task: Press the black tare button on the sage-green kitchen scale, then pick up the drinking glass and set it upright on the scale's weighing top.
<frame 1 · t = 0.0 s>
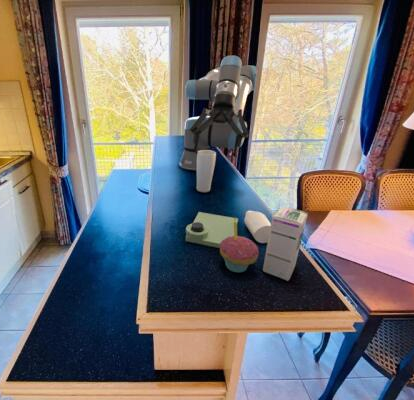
hand: (214, 153, 92), 15 cm above the breakfast bar, tool tilted 35°, fingers open, 13 cm apart
syrup box: (277, 270, 60), on the breakfast bar
tare button: (197, 227, 71), point 3 cm above the breakfast bar, slide at 0.1 cm
scale: (212, 231, 75), on the breakfast bar
cupcake: (236, 266, 62), on the breakfast bar
drinking glass: (203, 190, 102), on the breakfast bar, touching gripper
roll: (255, 231, 75), on the breakfast bar
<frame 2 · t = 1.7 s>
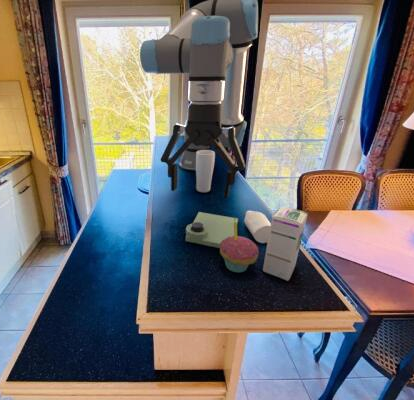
hand: (199, 192, 66), 13 cm above the breakfast bar, tool pointing down, fingers open, 13 cm apart
drinking glass: (203, 190, 102), on the breakfast bar
everything else where it was.
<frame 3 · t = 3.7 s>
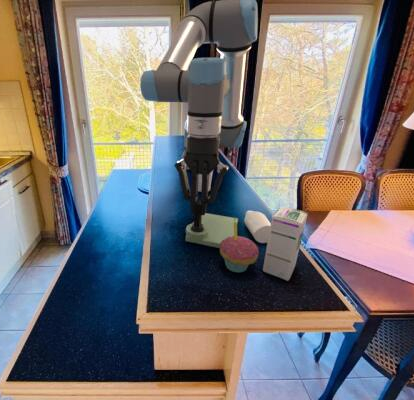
hand: (197, 224, 70), 4 cm above the breakfast bar, tool pointing down, fingers closed
tare button: (197, 227, 71), point 3 cm above the breakfast bar, slide at 0.1 cm, touching gripper
everything else where it was.
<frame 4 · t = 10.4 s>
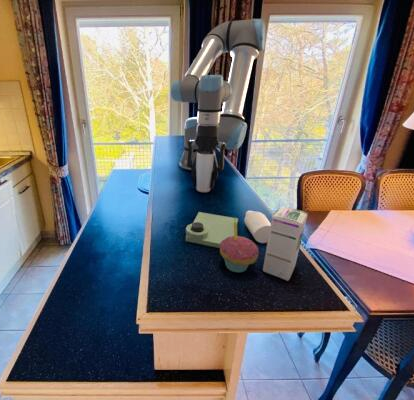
hand: (203, 186, 101), 2 cm above the breakfast bar, tool pointing down, fingers closed on drinking glass, 6 cm apart
tare button: (197, 227, 71), point 3 cm above the breakfast bar, slide at 0.1 cm
drinking glass: (203, 190, 102), on the breakfast bar, touching gripper
everything else where it was.
when the fingers open (3 cm above the breakfast bar, at t = 19.1 s): drinking glass stays where it is, resting on scale.
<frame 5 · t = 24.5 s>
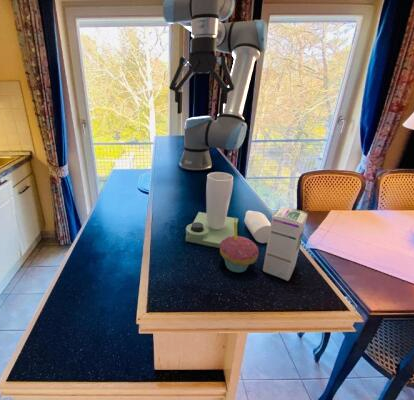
hand: (199, 114, 86), 29 cm above the breakfast bar, tool pointing down, fingers open, 13 cm apart
drinking glass: (215, 226, 75), point 1 cm above the breakfast bar, touching scale
everything else where it was.
at the end: tare button pushed in 0.8 cm at the most during the clip, back to where it started at the end; drinking glass inside the target area on the scale (1.1 cm from its centre), point 1.2 cm above the scale's base; drinking glass tilted 0° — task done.
